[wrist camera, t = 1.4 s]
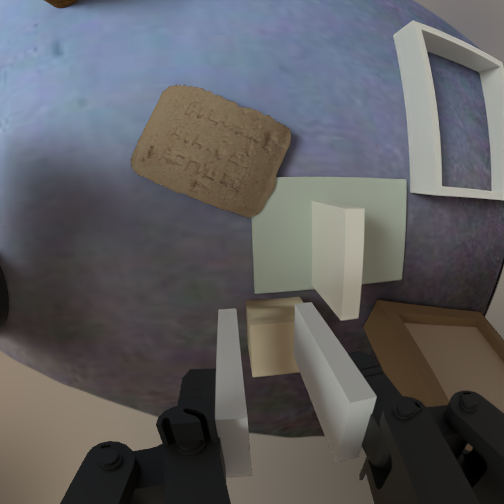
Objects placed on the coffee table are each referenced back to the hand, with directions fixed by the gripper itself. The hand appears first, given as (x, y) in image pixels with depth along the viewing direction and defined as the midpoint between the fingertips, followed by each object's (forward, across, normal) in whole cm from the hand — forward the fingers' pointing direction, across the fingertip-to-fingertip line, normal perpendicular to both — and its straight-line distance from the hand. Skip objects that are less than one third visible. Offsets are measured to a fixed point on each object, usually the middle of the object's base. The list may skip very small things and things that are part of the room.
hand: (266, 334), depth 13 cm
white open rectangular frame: (+19, +29, +16) cm, 38 cm away
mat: (+19, +10, +1) cm, 21 cm away
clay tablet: (+18, -3, +10) cm, 21 cm away
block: (+19, +3, -9) cm, 21 cm away
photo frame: (+19, +24, -17) cm, 35 cm away
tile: (+18, +8, 0) cm, 20 cm away
